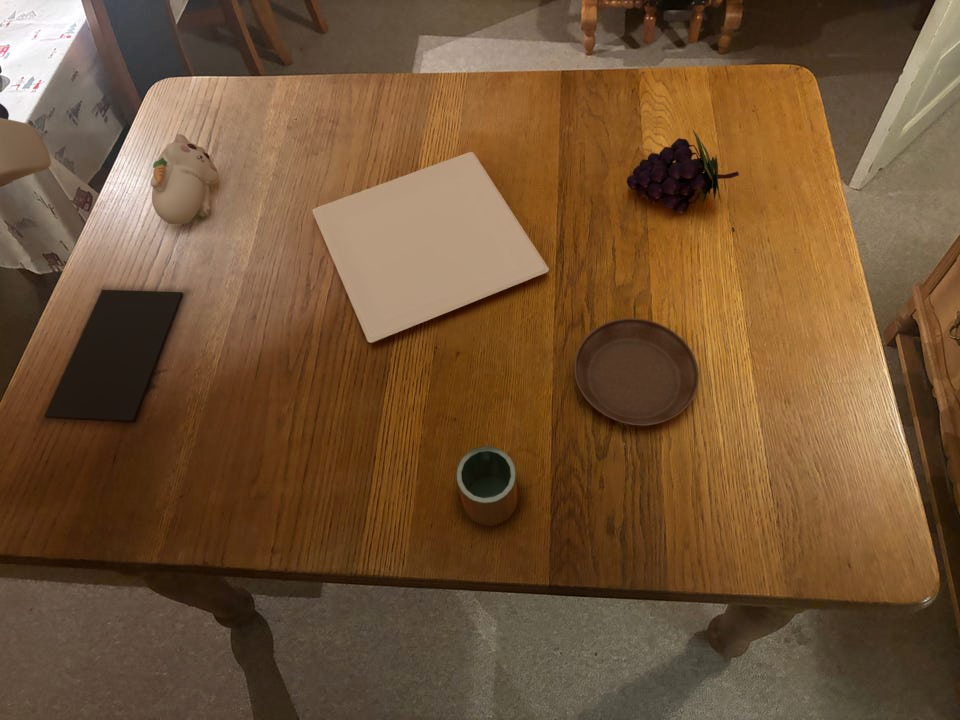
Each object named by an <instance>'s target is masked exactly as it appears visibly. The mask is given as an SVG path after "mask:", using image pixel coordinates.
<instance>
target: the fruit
mask: <svg viewBox="0 0 960 720" xmlns="http://www.w3.org/2000/svg"><path fill="white" fill-rule="evenodd" d="M692 131H693V134H694V137H695V141H696V144H697V147H696V145H694V144H690V143H689V141H688V140H687V139H685V138H680V137H678V138H677V139H676V140H675V141H674V142H673V143H672V144H670V146H664V147H663V148H662V149H661V150H660V151H659V153H658V152H657V153H656V152H650V154H649V155H648V156H647V159H642V160H641V161H639V165H637V166H636V167H634V168H633V170H632V172H631V173H632V174H630V175H629V176H627V178H626V184H627V187H629V189H630V190H631V191H635V193H636V195H637V196H638V197H646V199H647V201H648V202H649V203H650V204H654V205H657V203H658V202H660V201H661V202H662V205H663V207H665V208H667V209H672V211H673V212H676V213H678V214H684V213H685V212H687V211H688V210H689V208H690V205H691V204H694V205H693V206H692V208H694V207H695V205H696V204H697V203H698V201H699V200H700V199H701V198H702V196H703V199H702V203H701V205H700V206H701V207H703V205H704V203H705V201H706V198H707V196H708V195H711V190H712V195H713V201H715V200H716V197H717V196H716V195H718V198H719V201H720V203H722V200H721V193H720V186H719V180H723V179H724V180H727V179H732V178H737V177H739V176H740V173H739V171H735V172H730V173H726V174H719V163H718V158H717V155H715V156H712V157H710V155H709V152H708V149H707V147H706V146H705V145H704V143H703V142H702V141H701V139H700V138H699V135H698V133H696V131H695V130H694V129H692ZM691 147H694V149H695V151H696V152H693V150H692V149H691ZM694 155H695V156H696V158H693V156H694ZM697 191H699V193H698V195H697V197H696V198H695V199H694V201H690V200H691V199H692V198H693V197H694V196H696V195H695V194H696V192H697ZM701 207H700V208H701Z"/></svg>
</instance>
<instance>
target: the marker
mask: <svg viewBox="0 0 960 720" xmlns="http://www.w3.org/2000/svg"><path fill="white" fill-rule="evenodd" d="M9 117H10V114H9V110H8V109H7V108H6V106H5V105H3V104H2V103H0V118H3V119H10V118H9Z"/></svg>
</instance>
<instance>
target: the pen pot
mask: <svg viewBox="0 0 960 720" xmlns="http://www.w3.org/2000/svg"><path fill="white" fill-rule="evenodd" d="M455 470H456V472H455V476H456V485H457V488H458V492H459V496H460V499H461V500H460V501H461V503H462V506H463V508H464V511H465V513H466V514H467V516H468V517H469V518H470V519H471V520H472V521H473V522H475V523H477V524H479V525H482V526H487V527H488V526H489V527H490V526H491V527H492V526H497V525H500V524H503V523H504V522H506V521H507V520H509V519H510V518H511V517H512V515H513V514H514V512H515V510H516V507H517V505H518V482H517V481H518V480H517V469H516V464H515V463H514V460H513V459H512V458H511V456H510V455H509V454H508V453H506V452H505V451H504V450H503V449H502V448H498V447H494V446H490V445H486V446H485V445H484V446H476V447H475V448H473V449H471V450H469V451H468V452H466V453H465V454H464V455H463V456H462V458H461V459H460V460H459V462H458V465H457V468H456V469H455Z"/></svg>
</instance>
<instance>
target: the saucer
mask: <svg viewBox="0 0 960 720" xmlns="http://www.w3.org/2000/svg"><path fill="white" fill-rule="evenodd" d="M573 368H574V378H575V381H576V384H577V386H578V388H579V390H580V393H581V394H582V396H583V397H584V398H585V401H587V402H588V403H589V404H590V405H591V406H592V407H593V408H594V409H595V410H597V411H598V412H599V413H600V414H602V415H603V416H606V417H607V418H610V419H611V420H614V421H616V422H619V423H623V424H626V425H631V426H652V425H658V424H661V423H665V422H667V421H670V420H672V419H673V418H676V417H677V416H678V415H680V414H681V413H682V412H684V410H685V409H687V408H688V406H689V405H690V404H691V403H692V401H693V399H694V398H695V396H696V393H697V390H698V388H699V387H698V386H699V383H700V382H699V380H700V373H699V366H698V362H697V359H696V356H695V354H694V353H693V351H692V349H691V348H690V346H689V344H688V343H687V342H686V341H685V340H684V339H683V338H682V337H680V335H678V334H677V333H676V332H675V331H673V330H672V329H670V328H669V327H667V326H665V325H663V324H660V323H659V322H656V321H652V320H649V319H643V318H635V317H634V318H632V317H630V318H619V319H613V320H611V321H610V320H609V321H608V322H604V323H603V324H601V325H599V326H597V327H596V328H594V329H593V330H591V332H590V333H588V334H587V335H586V336H585V337H584V338H583V340H582V341H581V343H580V345H579V346H578V348H577V350H576V354H575V358H574V366H573Z"/></svg>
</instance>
